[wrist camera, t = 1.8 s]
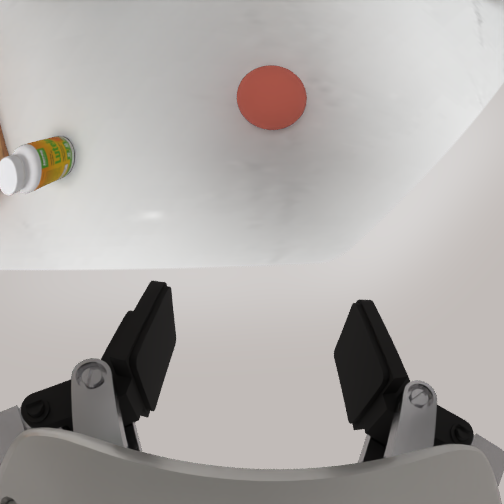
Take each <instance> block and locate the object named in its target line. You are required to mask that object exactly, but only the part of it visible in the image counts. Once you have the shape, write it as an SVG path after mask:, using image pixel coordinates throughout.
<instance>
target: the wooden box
mask: <svg viewBox="0 0 504 504" xmlns="http://www.w3.org/2000/svg"><path fill="white" fill-rule="evenodd" d="M7 156H9V155H8V151H7V148H6V145H5V141H4V137H3V133H2V129H1V125H0V161H1V160H2V159H3V158H5V157H7ZM0 190H1V189H0Z"/></svg>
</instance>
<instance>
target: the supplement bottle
mask: <svg viewBox="0 0 504 504" xmlns="http://www.w3.org/2000/svg"><path fill="white" fill-rule="evenodd" d="M73 163H74V150H73V147H72V145H71V143H70V142H69V140H68V139H66V138H65V137H61V136H58V137H52V138H48V139H44V140H39V141H36V142H32V143H28V144H24V145H21V146H19V147H18V148H17V149H16V150H15V151H14V152H13V154H12V155H10V156H7V157H5V158H3V159H2V160H1V161H0V189H1V191H2V192H3V193H4V194H5V195H8V196H9V195H12V194H14V193H17V192H18V191H19V192H21V193H30V192H32V191H34V190H36V189H39V188H41V187H43V186H45V185H47V184H49V183H51V182H54V181H56V180H58V179H61V178H63V177H65V176H66V175H67V174H68V173H69V172H70V171H71V169H72V166H73Z"/></svg>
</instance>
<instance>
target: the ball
mask: <svg viewBox="0 0 504 504" xmlns="http://www.w3.org/2000/svg"><path fill="white" fill-rule="evenodd" d="M306 100H307V97H306V91H305V88H304V85H303V83H302V82H301V80H300V79H299V78H298V77H297V76H296V75H295V74H294V73H293V72H291V71H290V70H288V69H286V68H283V67H280V66H263V67H259V68H256V69H254V70H253V71H251V72H249V73H248V74H247V75H246V76H245V77H244V78H243V80H242V81H241V83H240V85H239V87H238V91H237V103H238V107H239V109H240V111H241V113H242V115H243V116H244V117H245V118H246V119H247V120H248V121H249V122H250V123H251V124H253V125H255V126H257V127H259V128H262V129H267V130H278V129H282V128H285V127H288V126H290V125H291V124H293V123H294V122H296V121H297V120H298V119H299V118H300V116H301V115H302V113H303V111H304V109H305V106H306Z"/></svg>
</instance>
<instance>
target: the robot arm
mask: <svg viewBox="0 0 504 504" xmlns="http://www.w3.org/2000/svg"><path fill="white" fill-rule="evenodd" d="M175 343H176V332H175V323H174V313H173V304H172V293H171V287H168V286H167V284H166V283H165V282H158V281H151V282H150V284H149V285H148V287H147V289H146V291H145V292H144V294H143V296H142V297H141V299H140V301H139V302H138V304H137V306H136V308H135V310H134V311H128V312H127V314H126V315H125V317H124V318H123V320H122V322H121V324H120V326H119V327H118V329H117V331H116V333H115V334H114V336H113V338H112V340H111V342H110V343H109V345H108V347H107V349H106V351H105V353H104V355H103V356H102V358H101V360H100V359H93V358H91V359H86V360H83V361H82V362H80V363H78V364H77V365H76V366H75V368H74V369H73V371H72V376H71V380H69V381H66V382H63V383H60V384H58V385H55V386H52V387H49V388H47V389H44V390H41V391H38V392H35V393H32V394H31V395H29V396H27V397H26V398H25V399H24V401H23V403H22V406H21V407H20V408H18V406H14V407H12V408H9V409H7V410H4V411H2V412H0V504H502V503H501V498H500V493H499V490H498V486H499V483H500V480H501V477H502V474H503V471H504V451H502V449H500V448H499V447H497V446H495V445H494V444H492V443H491V442H489V441H487V440H486V439H484V438H483V437H481V436H479V435H478V434H475V435H474V434H473V430H472V427H471V426H470V424H469V423H468V422H466V421H465V420H463V419H462V418H460V417H458V416H456V415H454V414H452V413H451V412H449V411H447V410H446V409H444V408H442V407H440V406H438V405H437V396H436V393H435V391H434V389H433V388H432V387H431V386H430V385H429V384H427V383H425V382H423V381H418V380H416V381H411V382H410V380H409V378H408V375H407V373H406V370H405V368H404V366H403V364H402V361H401V359H400V357H399V354H398V353H397V350H396V348H395V346H394V344H393V341H392V339H391V337H390V335H389V333H388V331H387V329H386V327H385V325H384V323H383V321H382V319H381V317H380V315H379V313H378V311H377V309H376V307H375V305H374V303H373V301H371V300H358V301H357V302H356V303H353V305H352V307H351V309H350V312H349V315H348V317H347V320H346V322H345V325H344V328H343V330H342V333H341V335H340V338H339V340H338V343H337V345H336V348H335V351H334V359H335V363H336V367H337V371H338V375H339V380H340V384H341V388H342V393H343V397H344V402H345V407H346V412H347V416H348V421H349V423H352V424H353V428H354V430H359V429H365V433H366V434H367V436H366V439H365V442H364V446H363V449H362V452H361V455H360V458H359V461H358V463H355V464H349V465H341V466H332V467H322V468H308V469H247V468H233V467H232V468H231V467H222V466H213V465H205V464H198V463H192V462H186V461H180V460H175V459H169V458H165V457H160V456H156V455H152V454H147V453H144V452H142V449H141V445H140V441H139V438H138V433H137V429H136V425H135V422H136V421H138V420H139V418H140V416H144V417H148V416H149V413H150V410H151V411H154V410H155V408H156V405H157V401H158V398H159V394H160V391H161V388H162V385H163V381H164V378H165V375H166V372H167V369H168V366H169V362H170V359H171V356H172V353H173V350H174V347H175Z"/></svg>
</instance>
